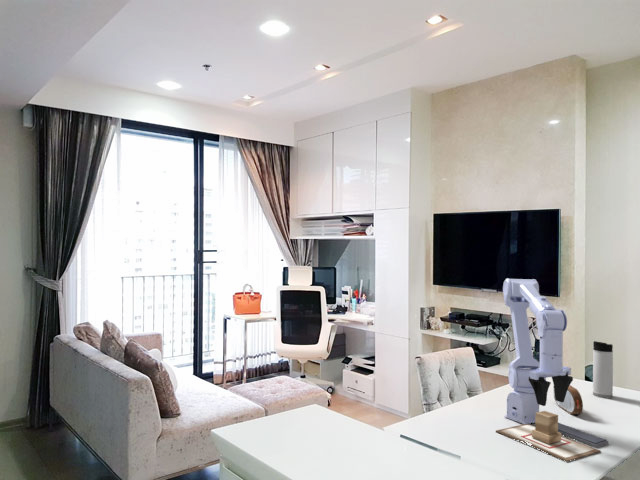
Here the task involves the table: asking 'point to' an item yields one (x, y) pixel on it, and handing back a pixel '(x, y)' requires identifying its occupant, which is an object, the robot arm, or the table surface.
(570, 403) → the tin
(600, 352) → the travel mug
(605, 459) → the table surface
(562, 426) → the ink pad
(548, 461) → the table surface
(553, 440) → the stamp
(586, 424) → the table surface
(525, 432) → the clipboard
